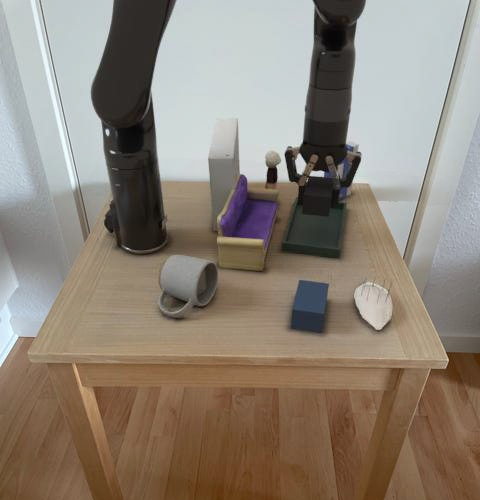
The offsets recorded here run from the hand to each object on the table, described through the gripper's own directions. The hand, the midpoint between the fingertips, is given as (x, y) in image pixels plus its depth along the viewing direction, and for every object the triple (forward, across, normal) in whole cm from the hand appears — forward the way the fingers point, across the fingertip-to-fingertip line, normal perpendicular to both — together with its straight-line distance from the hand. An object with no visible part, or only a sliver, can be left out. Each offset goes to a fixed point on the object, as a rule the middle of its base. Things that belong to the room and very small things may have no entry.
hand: (317, 203), depth 94 cm
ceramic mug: (+8, +19, +24) cm, 32 cm away
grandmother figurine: (+8, +11, -12) cm, 18 cm away
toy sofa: (+8, +12, +4) cm, 15 cm away
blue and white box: (+8, -3, -20) cm, 22 cm away
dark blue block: (+8, -2, +23) cm, 25 cm away
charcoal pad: (0, 0, 0) cm, 0 cm away
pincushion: (+8, -12, +19) cm, 24 cm away
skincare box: (+8, +20, -10) cm, 24 cm away
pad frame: (+8, 0, -4) cm, 9 cm away
